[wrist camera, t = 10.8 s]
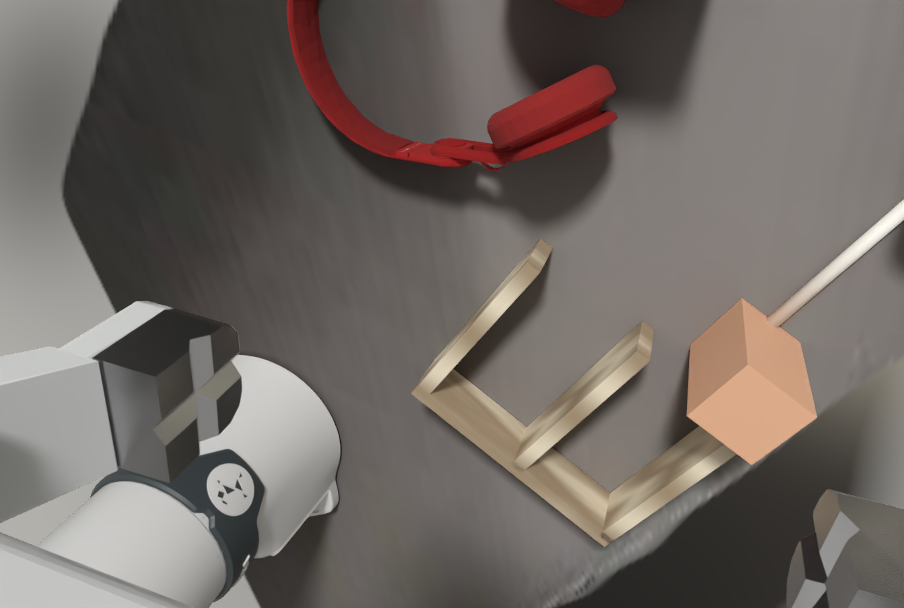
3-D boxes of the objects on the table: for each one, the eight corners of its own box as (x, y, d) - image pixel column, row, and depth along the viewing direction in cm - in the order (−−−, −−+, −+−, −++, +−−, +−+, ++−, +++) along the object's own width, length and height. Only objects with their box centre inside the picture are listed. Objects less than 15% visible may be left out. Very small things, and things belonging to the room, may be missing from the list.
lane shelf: (611, 508, 53) (604, 546, 49) (430, 364, 52) (411, 393, 49) (748, 406, 46) (751, 443, 42) (540, 238, 45) (526, 262, 42)
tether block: (745, 387, 45) (751, 465, 38) (690, 344, 45) (686, 415, 38) (1013, 168, 35) (1085, 221, 28) (943, 114, 35) (998, 154, 28)
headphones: (662, -122, 34) (325, -117, 42) (627, -136, 29) (245, -127, 36) (623, 172, 41) (339, 130, 49) (588, 208, 35) (274, 154, 43)
